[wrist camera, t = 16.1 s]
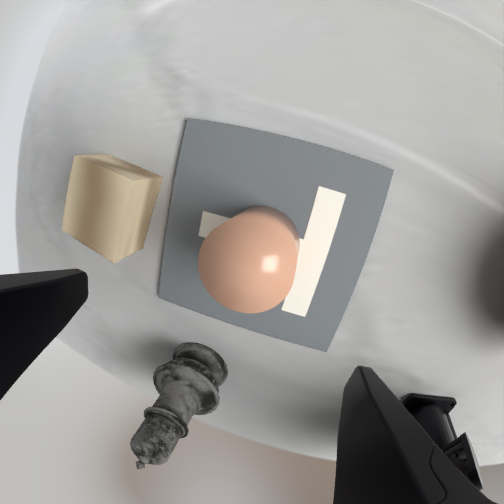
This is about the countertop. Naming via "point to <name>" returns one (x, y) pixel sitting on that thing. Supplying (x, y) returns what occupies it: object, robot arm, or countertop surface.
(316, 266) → the letter mat
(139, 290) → the countertop surface
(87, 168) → the maple block
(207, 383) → the salt shaker
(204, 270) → the terracotta cylinder
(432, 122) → the countertop surface
